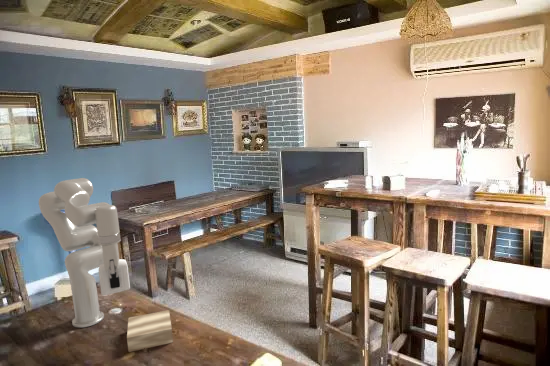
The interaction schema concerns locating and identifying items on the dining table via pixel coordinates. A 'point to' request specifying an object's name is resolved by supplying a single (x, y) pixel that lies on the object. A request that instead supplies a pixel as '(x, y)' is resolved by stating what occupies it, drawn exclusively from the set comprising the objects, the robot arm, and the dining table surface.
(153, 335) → the birch block
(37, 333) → the dining table surface
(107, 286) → the photo printer
